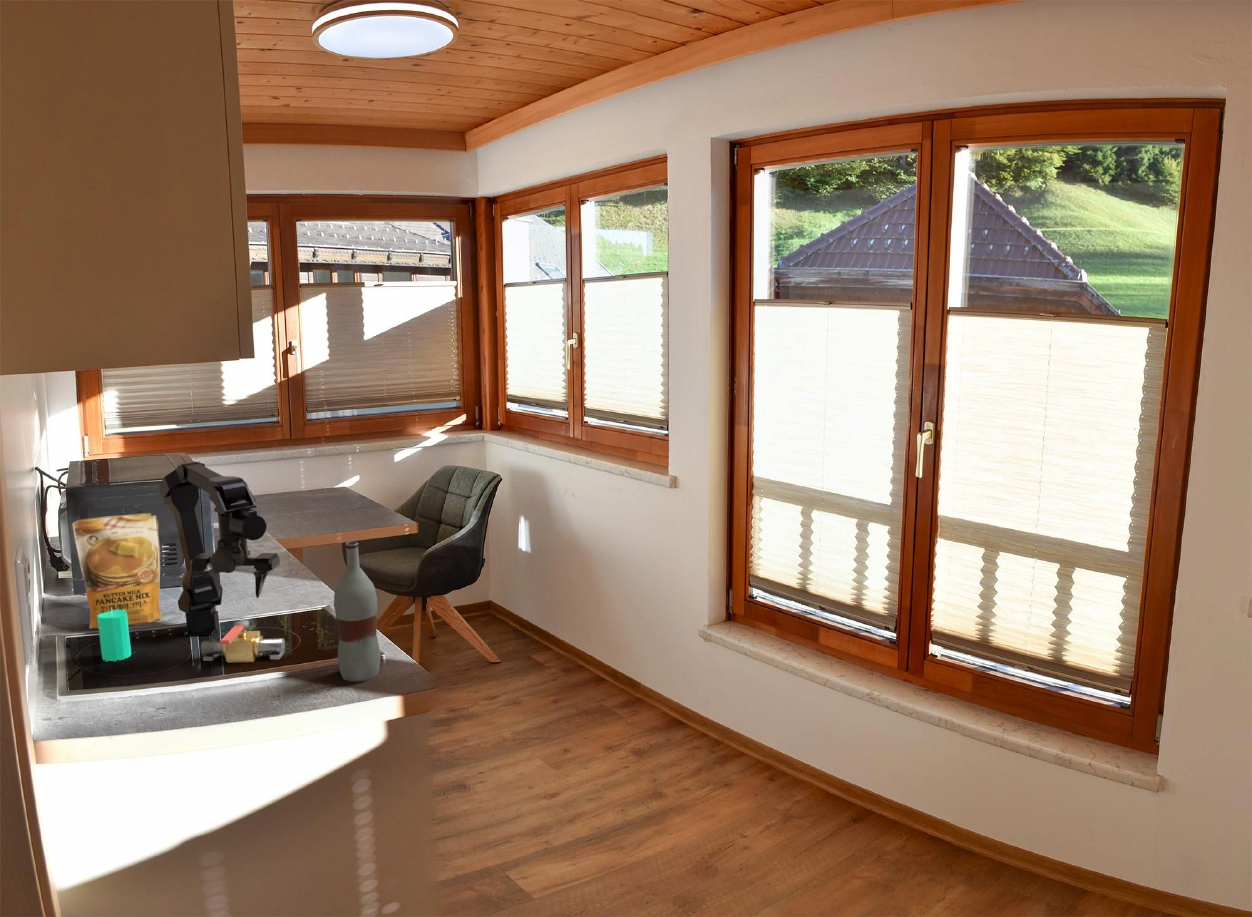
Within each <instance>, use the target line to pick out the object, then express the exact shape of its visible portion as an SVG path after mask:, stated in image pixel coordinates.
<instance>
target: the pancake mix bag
mask: <svg viewBox="0 0 1252 917" xmlns="http://www.w3.org/2000/svg"><path fill="white" fill-rule="evenodd" d="M71 529H72V534H73V539H74V541H73V542H74V544H75V547H76V552H77V557H78V558H77V559H78V562H79V568H80V571H81V572H80V573H81V575H82V578H83V581H84V587H85V593H86V598H87V602H88V604H89V605H88V606H89V614H90V619H89V620H90V621H89V622H90V623H89V629H98V630H99V627H98V618H97V615H99V614H102V613H105V612H109V611H111V607H112V610H125V611H126V613H127V619H128V627H130V626H138V625H145V624H151V623H153V622H155V621H158V620H161V619H163V617H162V614H161V610H160V599H161V598H160V596H161V586H160V584H161V582H160V580H161V546H160V545H161V544H160V535H159V529H160V527H159V520H158V516H157V515H152V512H141V513H131V514H123V515H119V514H118V515H108V516H100V517H99V516H98V517H90V518H82V519H77V520H76V521H74V522H73V523H71Z"/></svg>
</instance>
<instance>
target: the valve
mask: <svg viewBox="0 0 1252 917" xmlns="http://www.w3.org/2000/svg"><path fill="white" fill-rule="evenodd" d="M221 640H222V639H220V640H217V639H216V640H203V641H202V642H201V645H200V652H201V655H202V656H203V657H202V661H211V660H213V659H214V658H215V659H216V658H218V656H219V655H223V657H224V658H225V660H226V662H228V663H229V664H230V663H231V664H232V663H233V664H234V663H235V664H236V663H254V662H255V661H256V659H257V658H258V657H259V658H260V657H262V655H263V654H269V660H275V661H276V660H280V659H281V658H282V657H283V655H284V654H285V650H286V641H285V638H279V637H278V638H263V636H262V635H261V631H260V630H250V631H249V630H247V628H246V629H243V630H242V631H241V632H240V633H239V634H238V635H237V636H236V638H235V639H234V640H233V641H232V642H231V643H230V644H222V645H221ZM215 659H214V660H215ZM214 660H213V661H214ZM228 663H227V664H228Z"/></svg>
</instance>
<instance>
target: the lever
mask: <svg viewBox="0 0 1252 917" xmlns="http://www.w3.org/2000/svg"><path fill="white" fill-rule="evenodd" d="M249 627H250V622H249V620H248V619H240V620H236V621H234V622H233V627H232V628H231V629H230V630H229V631H228V632H227V633H226V634H225V635H224V637H223V638H221V639H220V640H221V645H222V644H230V643H231V642H232V641H233V640H234V639H235V638H236V636H237V635H238V634H239V633H240V632H241V631H242V630H243V629H246V630H247V629H249Z"/></svg>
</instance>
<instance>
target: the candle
mask: <svg viewBox="0 0 1252 917" xmlns="http://www.w3.org/2000/svg"><path fill="white" fill-rule="evenodd" d="M97 618H98V627H99V629H98V636H99V643H100V650H101V652H100V653H101V659H102V661H104V660H105V661H104V662H108V661H113V662H118V661H117V660H119V661H122V660H123V661H124V660H126V659H128V658H130V657H131V655H132V646H131V641H130V640H131V638H130V631H129V630H130V629H129V626H128V619H127V613H126V611H125V610H112V607H111V611H109V612H105V613H102V614H99V615H97ZM125 658H126V659H125Z"/></svg>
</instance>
